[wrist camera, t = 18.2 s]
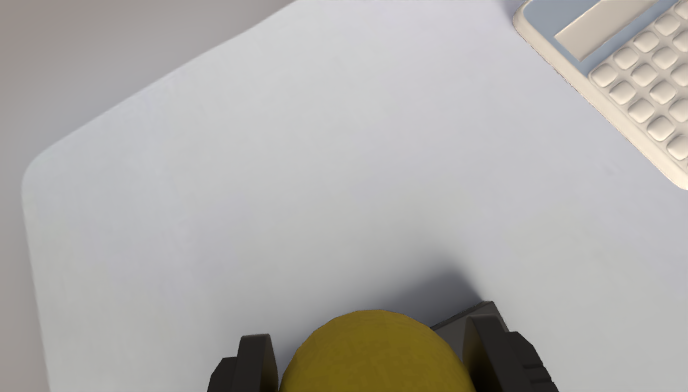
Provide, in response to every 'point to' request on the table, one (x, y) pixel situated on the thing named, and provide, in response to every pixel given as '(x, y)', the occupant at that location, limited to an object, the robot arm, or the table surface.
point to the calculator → (622, 67)
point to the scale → (455, 325)
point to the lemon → (375, 357)
